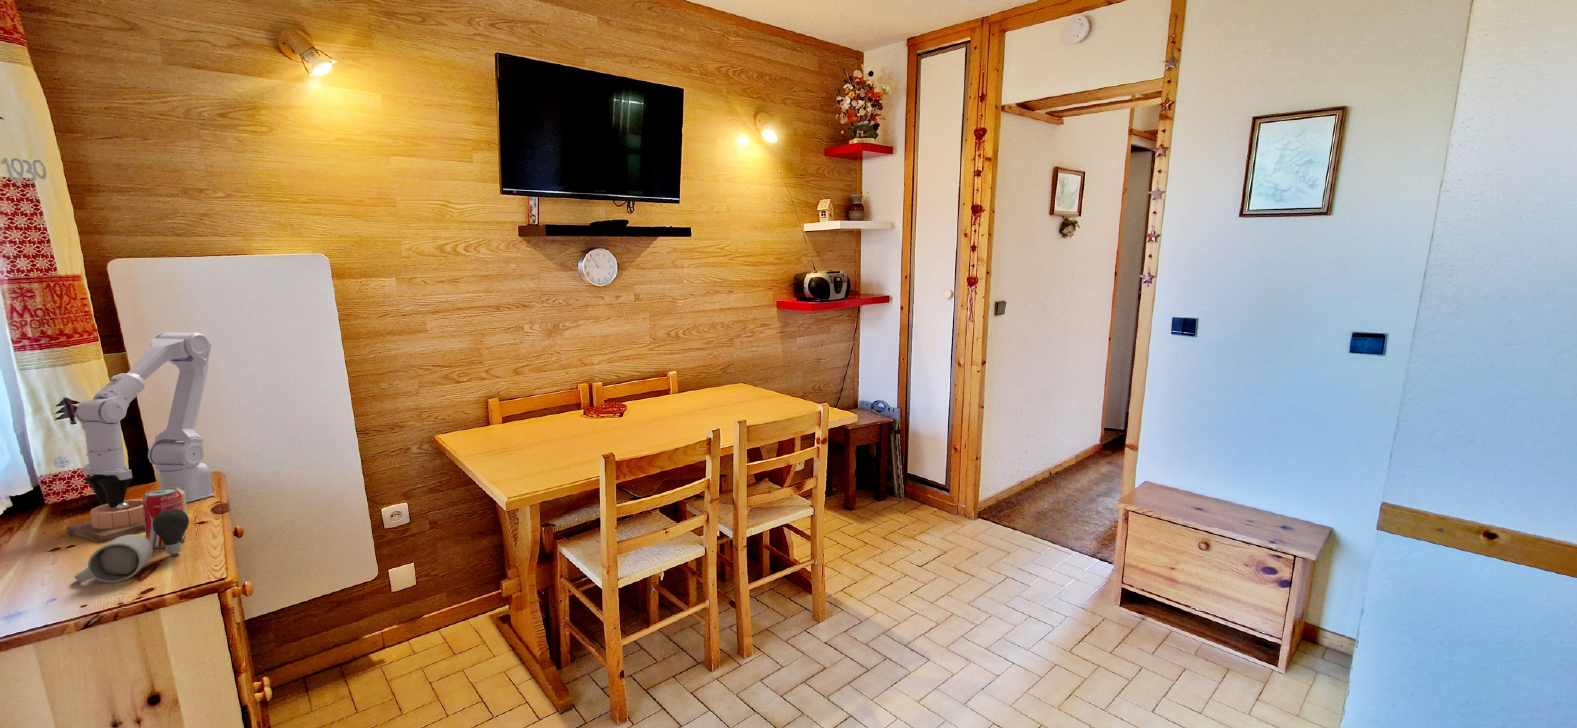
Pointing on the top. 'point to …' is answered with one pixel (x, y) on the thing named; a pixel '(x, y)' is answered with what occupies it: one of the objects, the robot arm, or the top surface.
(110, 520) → the coral ring
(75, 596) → the top surface
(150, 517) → the soda can
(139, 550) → the ceramic mug
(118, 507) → the hook peg
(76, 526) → the hook board
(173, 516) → the light bulb
